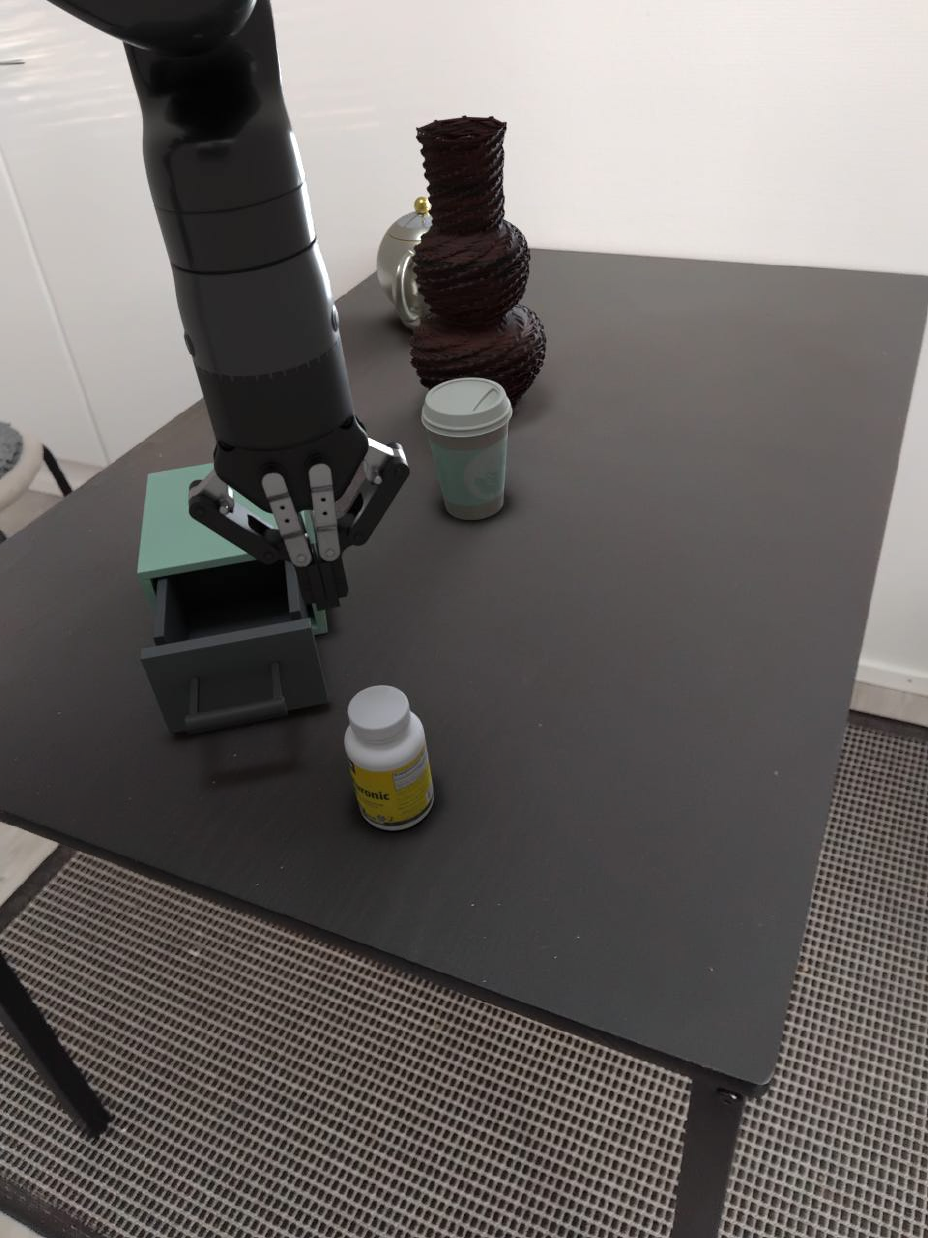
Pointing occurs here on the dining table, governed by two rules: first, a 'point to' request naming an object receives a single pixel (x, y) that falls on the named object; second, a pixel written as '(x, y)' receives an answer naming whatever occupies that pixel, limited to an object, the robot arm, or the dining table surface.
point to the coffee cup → (469, 444)
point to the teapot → (404, 263)
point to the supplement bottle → (388, 759)
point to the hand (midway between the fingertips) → (327, 601)
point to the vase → (472, 265)
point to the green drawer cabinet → (192, 535)
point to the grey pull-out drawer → (232, 647)
